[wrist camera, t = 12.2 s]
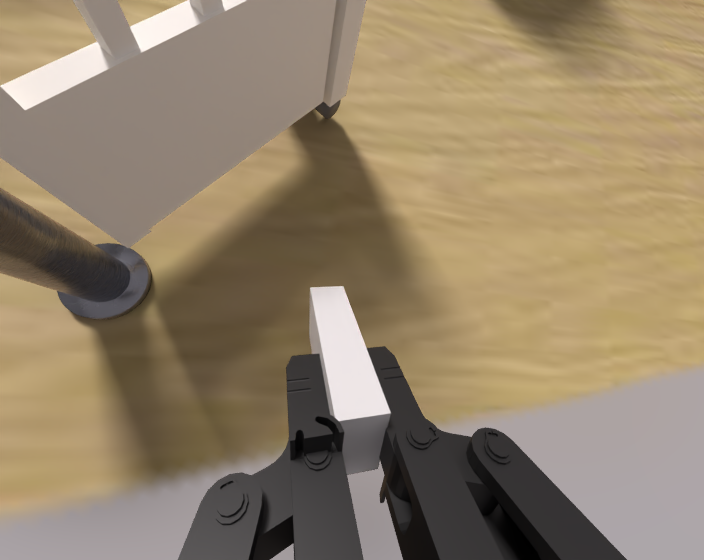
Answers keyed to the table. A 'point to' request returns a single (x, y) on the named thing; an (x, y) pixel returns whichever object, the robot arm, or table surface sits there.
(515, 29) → the table surface
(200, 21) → the gate
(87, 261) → the hinge post
